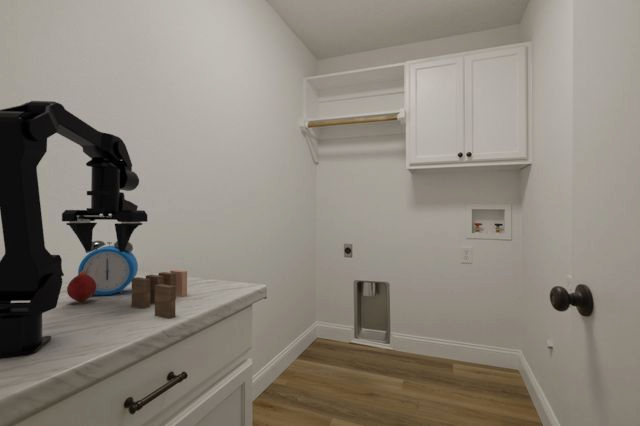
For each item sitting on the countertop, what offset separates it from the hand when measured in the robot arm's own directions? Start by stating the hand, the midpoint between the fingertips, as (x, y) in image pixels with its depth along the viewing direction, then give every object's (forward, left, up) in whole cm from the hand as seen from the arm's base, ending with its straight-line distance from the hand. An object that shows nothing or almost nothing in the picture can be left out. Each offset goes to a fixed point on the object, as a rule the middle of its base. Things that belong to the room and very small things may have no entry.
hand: (105, 251), depth 75 cm
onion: (+6, +6, -14) cm, 16 cm away
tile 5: (+5, -16, -14) cm, 22 cm away
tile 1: (-12, -15, -14) cm, 23 cm away
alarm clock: (+14, +2, -14) cm, 19 cm away
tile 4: (+2, -13, -14) cm, 19 cm away
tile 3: (0, -11, -14) cm, 17 cm away
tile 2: (-3, -8, -14) cm, 16 cm away
